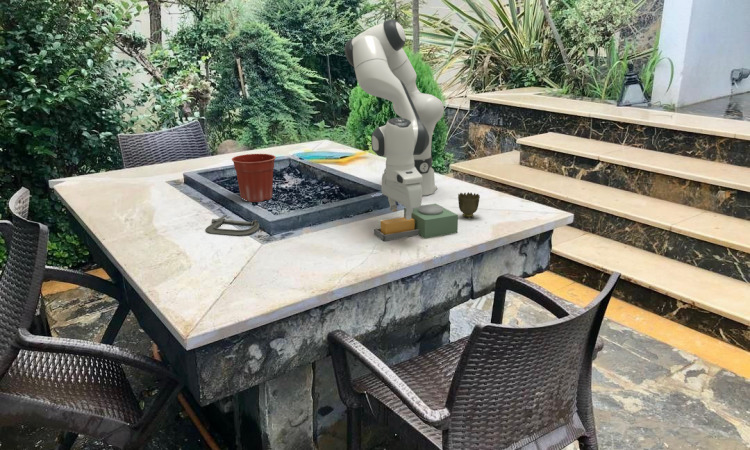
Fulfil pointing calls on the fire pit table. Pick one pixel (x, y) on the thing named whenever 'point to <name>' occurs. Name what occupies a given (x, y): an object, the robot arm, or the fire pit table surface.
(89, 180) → the fire pit table surface
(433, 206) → the box with open drawer
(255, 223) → the c clamp
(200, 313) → the fire pit table surface
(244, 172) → the flower pot
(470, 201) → the cup
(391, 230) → the orange rectangular block
